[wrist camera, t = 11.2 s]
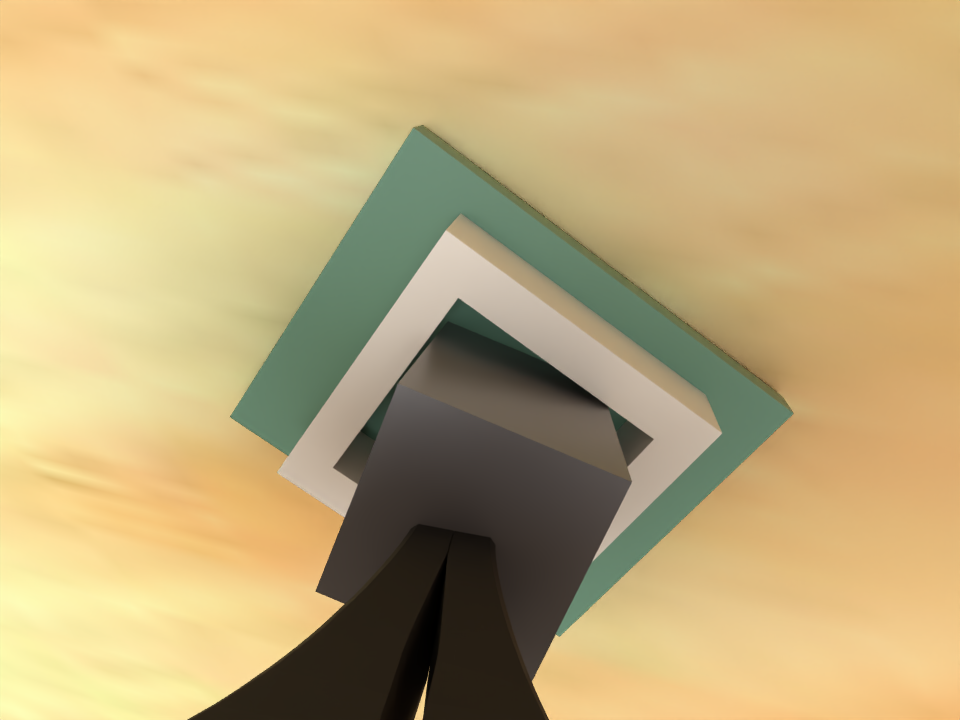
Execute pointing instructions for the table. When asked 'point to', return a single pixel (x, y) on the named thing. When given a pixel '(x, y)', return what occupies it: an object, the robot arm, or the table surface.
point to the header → (541, 328)
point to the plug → (489, 477)
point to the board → (495, 331)
